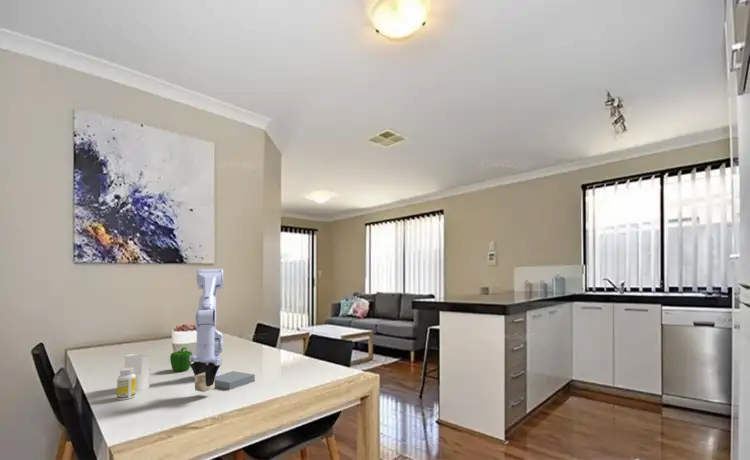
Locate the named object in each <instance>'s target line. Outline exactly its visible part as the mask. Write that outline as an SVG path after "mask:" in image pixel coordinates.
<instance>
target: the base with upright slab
mask: <svg viewBox="0 0 750 460" xmlns="http://www.w3.org/2000/svg"><path fill="white" fill-rule="evenodd" d="M149 358H150V355H149V354H140V353H138V354H137V353H130V354H125V355H124V368H129V367H133V368H134V371H133V374H135V376H136V384H135V393H137V392H140V391H144V390H147V389H149V388H150V387H151V369H149V363H150V359H149Z"/></svg>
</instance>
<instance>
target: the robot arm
mask: <svg viewBox="0 0 750 460" xmlns="http://www.w3.org/2000/svg"><path fill="white" fill-rule="evenodd" d="M196 284H197V287H198V290H199V289H200V290H202V292H203V293H202V295H200V297H199V299H198V308H197V311H196V312H195V317H194V319H195V321H194V323H195V330H196V350H195V352H196V354H192V355H191V356H189V361H191V362H193V363H191V364H190V368H191V370H192V372H193V374H194V375H193V376H192V378H193V379H195V375H198V374H201V373H205V375H206V385H207V386H211V385H213V382H214V379H215V376H219V375H222V374H223V373H220V367H221V365H222V364H223V358H221V357H220V354H222V353H223V351H224V337H223V333H222V332H221V331H219V330H218V329H217V293H218V291H219V290H220V289H222V288H223V286H224V269H223V268H202V269H201V268H198V269H197V270H196Z"/></svg>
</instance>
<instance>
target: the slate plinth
mask: <svg viewBox="0 0 750 460" xmlns="http://www.w3.org/2000/svg"><path fill="white" fill-rule="evenodd" d="M221 374H222V375H219V376H215V388H218V389H222V388H223V390H228V389H231V390H234V389H236V387H237V388H239V387H242V386H245V385H248V384H251V383H253V382H255V381H256V380H255V376H256V375H255V374H254V373H248V372H247V373H246V372H242V371H241V372H240V371H234V370H232V371H229V372H226V373H221ZM250 382H251V383H250ZM244 384H245V385H244ZM241 385H242V386H241ZM238 386H239V387H238ZM233 388H234V389H233Z"/></svg>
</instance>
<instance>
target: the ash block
mask: <svg viewBox="0 0 750 460" xmlns="http://www.w3.org/2000/svg"><path fill="white" fill-rule="evenodd" d="M213 389H216V387H215V379H214V382H213V385H211V386H207V385H206V375H205V373H201V374H198V375H195V378H194V391H196V392H200V393H201V392H202V393H205V392H209V391H211V390H213Z"/></svg>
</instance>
